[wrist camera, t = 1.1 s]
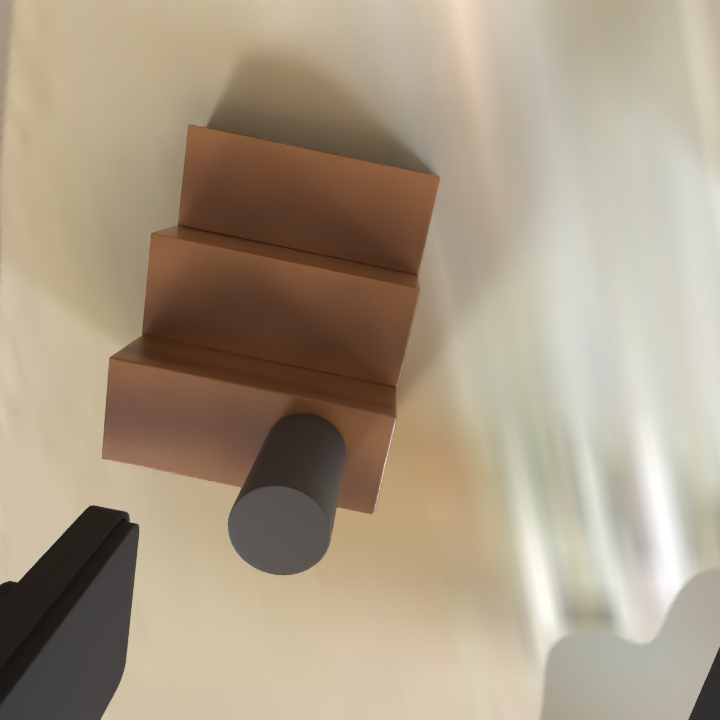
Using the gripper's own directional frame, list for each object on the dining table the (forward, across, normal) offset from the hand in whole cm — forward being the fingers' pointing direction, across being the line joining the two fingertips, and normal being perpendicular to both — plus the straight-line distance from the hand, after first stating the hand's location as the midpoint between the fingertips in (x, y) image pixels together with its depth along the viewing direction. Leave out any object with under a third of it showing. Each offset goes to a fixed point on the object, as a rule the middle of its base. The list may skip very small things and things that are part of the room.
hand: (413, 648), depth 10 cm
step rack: (+31, +6, +1) cm, 31 cm away
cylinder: (+20, +3, +6) cm, 21 cm away
